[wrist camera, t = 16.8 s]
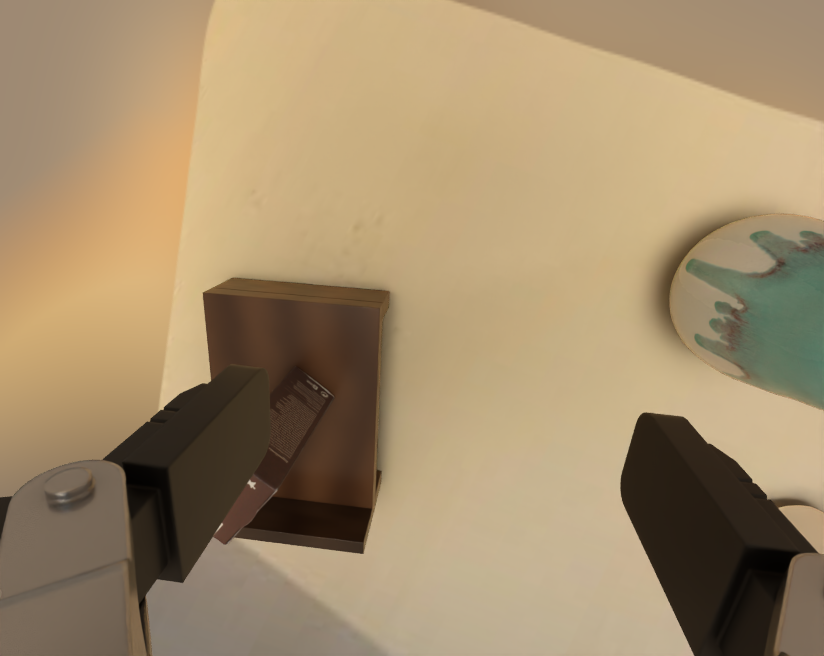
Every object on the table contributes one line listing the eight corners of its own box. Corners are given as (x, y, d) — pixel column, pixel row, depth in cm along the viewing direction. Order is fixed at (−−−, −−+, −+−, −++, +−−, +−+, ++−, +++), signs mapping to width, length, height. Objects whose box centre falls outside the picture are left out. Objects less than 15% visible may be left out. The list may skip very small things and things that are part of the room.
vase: (681, 195, 35) (882, 227, 18) (838, 222, 35) (1194, 279, 18) (632, 337, 39) (760, 469, 22) (772, 362, 39) (1011, 517, 22)
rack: (246, 467, 48) (199, 533, 39) (232, 277, 41) (172, 307, 32) (381, 483, 47) (363, 554, 38) (389, 290, 40) (370, 325, 31)
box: (292, 361, 37) (219, 448, 26) (336, 396, 38) (283, 494, 27) (252, 409, 39) (168, 509, 28) (295, 441, 40) (229, 551, 29)
